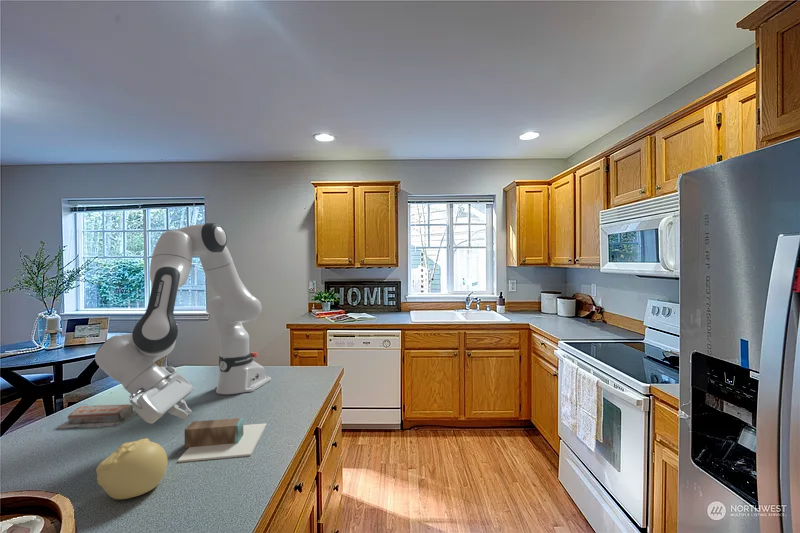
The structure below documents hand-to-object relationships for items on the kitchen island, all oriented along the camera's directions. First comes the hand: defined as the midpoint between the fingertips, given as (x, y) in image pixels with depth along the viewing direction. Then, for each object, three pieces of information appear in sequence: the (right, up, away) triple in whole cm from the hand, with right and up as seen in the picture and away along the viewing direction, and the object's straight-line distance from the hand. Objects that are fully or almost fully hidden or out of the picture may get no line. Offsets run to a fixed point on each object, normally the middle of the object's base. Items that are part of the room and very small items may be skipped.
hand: (187, 415), depth 97 cm
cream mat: (+10, -8, +2) cm, 13 cm away
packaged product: (-40, -9, +17) cm, 44 cm away
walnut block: (0, -5, 0) cm, 5 cm away
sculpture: (0, -9, -19) cm, 21 cm away
